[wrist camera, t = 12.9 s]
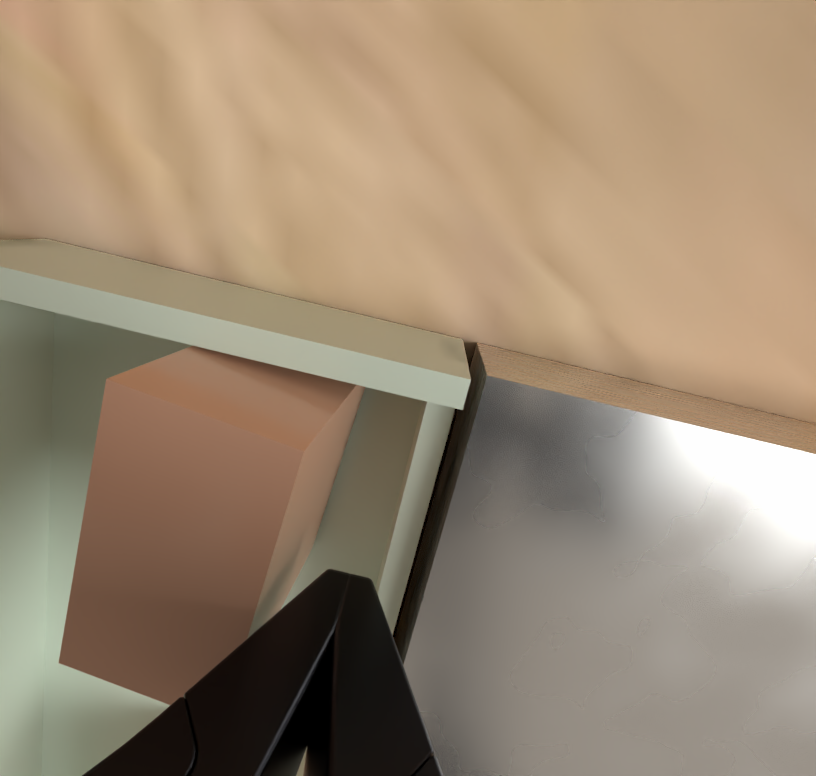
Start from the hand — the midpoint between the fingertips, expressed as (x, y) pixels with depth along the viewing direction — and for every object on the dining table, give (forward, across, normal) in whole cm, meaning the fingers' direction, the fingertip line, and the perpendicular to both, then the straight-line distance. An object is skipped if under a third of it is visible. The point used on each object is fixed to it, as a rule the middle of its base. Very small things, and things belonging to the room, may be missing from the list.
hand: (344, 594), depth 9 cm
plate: (+3, -6, +5) cm, 9 cm away
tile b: (+1, +1, -1) cm, 1 cm away
